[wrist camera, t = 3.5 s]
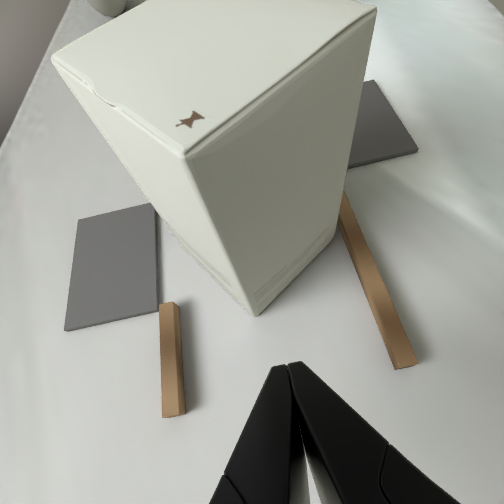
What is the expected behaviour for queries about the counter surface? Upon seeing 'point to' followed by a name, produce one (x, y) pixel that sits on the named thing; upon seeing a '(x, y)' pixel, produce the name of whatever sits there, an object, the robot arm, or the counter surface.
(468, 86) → the counter surface
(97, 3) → the donut
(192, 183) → the supplement box
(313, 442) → the robot arm
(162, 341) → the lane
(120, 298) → the pads
